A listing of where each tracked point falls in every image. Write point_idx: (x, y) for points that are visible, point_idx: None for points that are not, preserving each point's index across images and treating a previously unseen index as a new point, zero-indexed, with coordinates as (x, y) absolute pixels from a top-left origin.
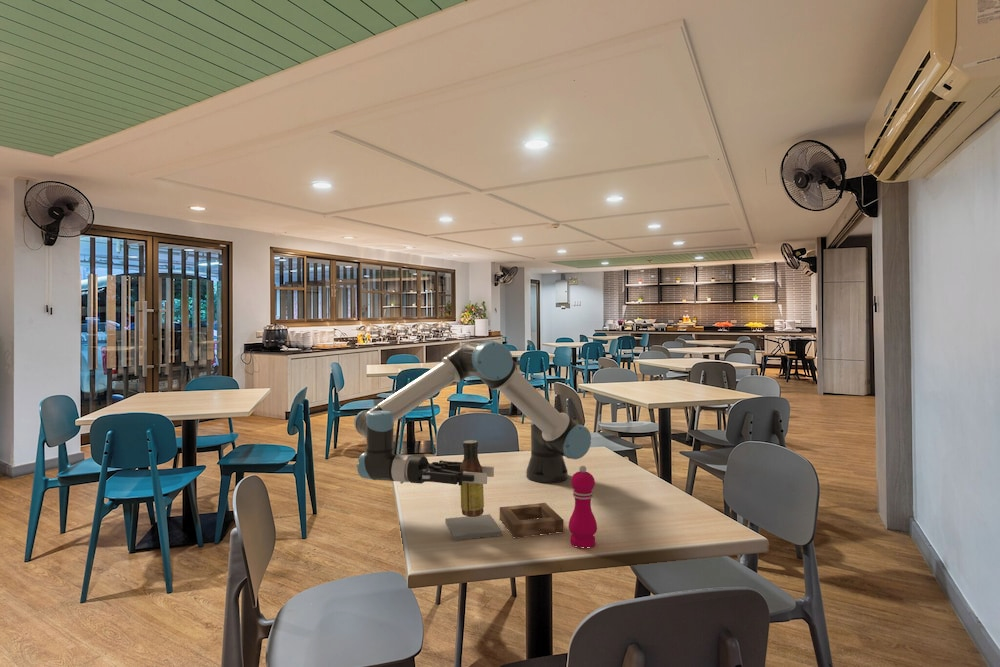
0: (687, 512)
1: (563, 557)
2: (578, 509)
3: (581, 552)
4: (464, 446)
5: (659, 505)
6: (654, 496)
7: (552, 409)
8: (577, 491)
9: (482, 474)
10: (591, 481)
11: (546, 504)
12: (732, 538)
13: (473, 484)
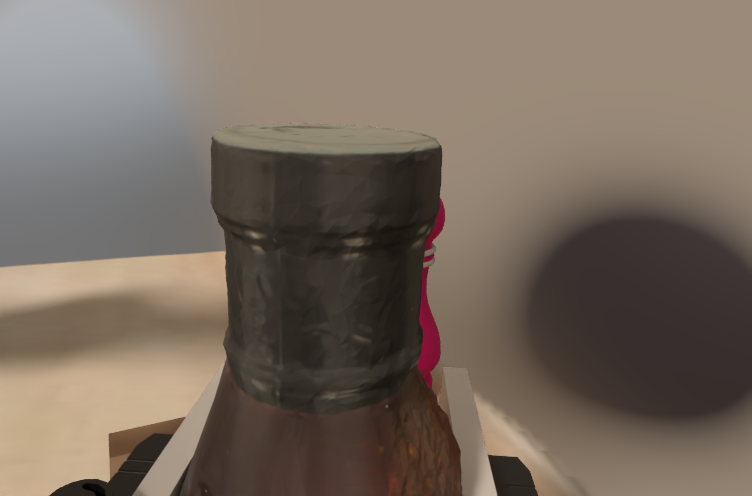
0: (181, 269)
1: (507, 426)
2: (425, 297)
3: None
4: (419, 211)
5: (123, 287)
6: (51, 286)
7: None
8: (428, 244)
9: (469, 392)
10: None
11: (134, 429)
12: None
13: None
